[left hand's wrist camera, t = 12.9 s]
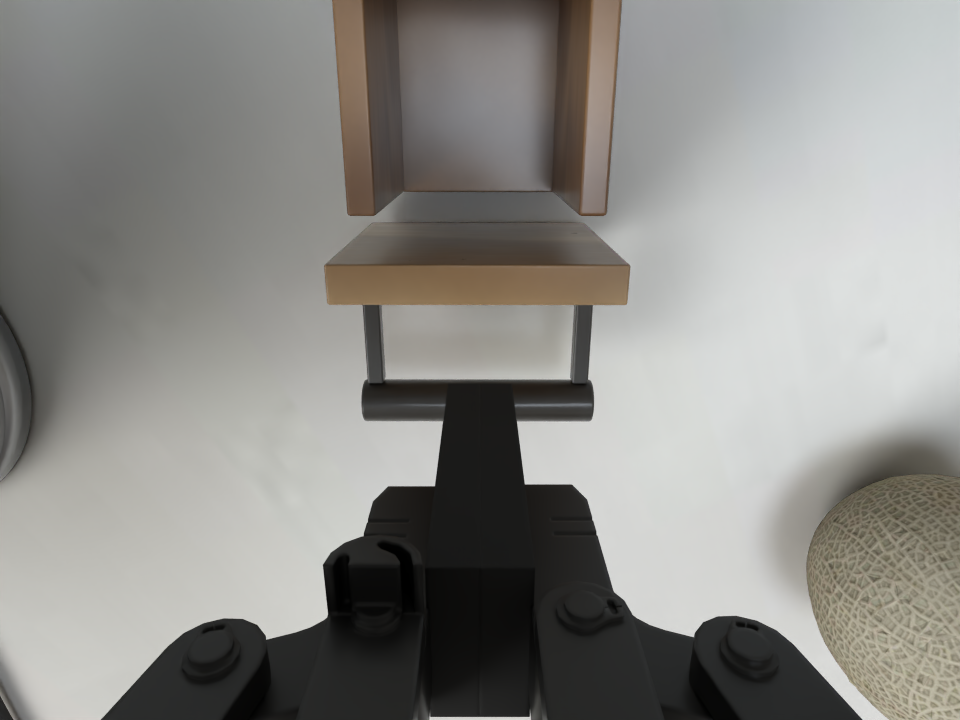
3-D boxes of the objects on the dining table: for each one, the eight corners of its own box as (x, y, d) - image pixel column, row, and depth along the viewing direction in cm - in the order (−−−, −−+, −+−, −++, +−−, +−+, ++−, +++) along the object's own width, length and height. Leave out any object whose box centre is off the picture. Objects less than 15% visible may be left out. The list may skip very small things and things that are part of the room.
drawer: (575, 380, 28) (612, 478, 20) (381, 379, 28) (342, 478, 20) (612, -255, 20) (697, -498, 12) (343, -256, 20) (256, -500, 12)
